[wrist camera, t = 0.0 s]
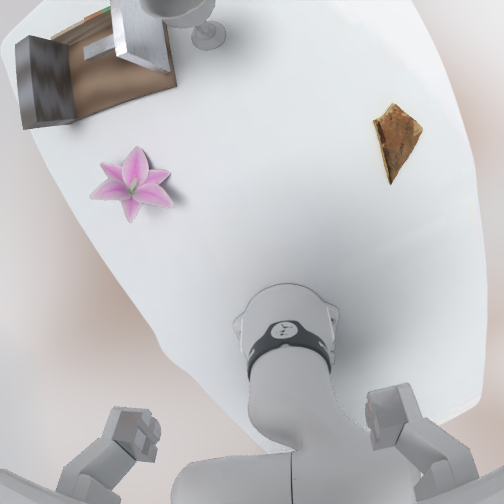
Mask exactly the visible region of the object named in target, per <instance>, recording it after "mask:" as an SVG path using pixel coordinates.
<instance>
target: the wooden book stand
mask: <svg viewBox="0 0 504 504" xmlns="http://www.w3.org/2000/svg"><path fill="white" fill-rule="evenodd" d="M162 24H163V30H164V36H165V42H166V48H167V54H168V60H169V66H170V73H167V74H164V75H162V74H160V73H158V72H155V71H153V70H150V69H148V68H145V67H143V66H141V65H138V64H136V63H133V62H130V61H128V60H125V59H123V58H120V57H117V56H116V52H115V53H112V54H110V55H107V56H105V57H103V58H100V59H98V60H96V61H93V62H90V61H86V60H85V59H84V50H83V47H85V46H87V45H89V44H92V43H94V42H96V41H98V40H100V39H103V38H105V37H107V36H110V35H112V34H113V25H112V16H111V6H109V7H107V8H105V9H102V10H100V11H98V12H96V13H94V14H92V15H90V16H88V17H86V18H84V20H82V21H80V22H78V23H76V24H74V25H72V26H70V27H69V28H67V29H65V30H63V31H61V32H60V33H58V34H56V35H54V36H53V37H51V40H47V39H43V38H39V37H35V36H30V35H29V36H27V37H26V38H24V39H23V40H21V41H20V42H18V43H17V44H16V45H15V58H16V74H17V86H18V96H19V105H20V112H21V119H22V125H23V130H26V129H33V128H40V127H49V126H58V125H68V124H71V123H73V122H75V121H78V120H80V119H83V118H85V117H87V116H90V115H92V114H95V113H97V112H100V111H103V110H105V109H108V108H111V107H113V106H116V105H119V104H122V103H125V102H128V101H130V100H133V99H137V98H140V97H143V96H146V95H149V94H152V93H156V92H159V91H162V90H166V89H169V88H173V87H177V85H176V80H175V74H174V68H173V63H172V57H171V51H170V45H169V39H168V33H167V27H166V23H164V22H163V21H162Z"/></svg>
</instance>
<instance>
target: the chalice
mask: <svg viewBox="0 0 504 504" xmlns="http://www.w3.org/2000/svg"><path fill="white" fill-rule="evenodd" d="M139 1H140V4H141V8H142V10H143V11H144V12H145V13H146V14H147V15H149V16H151V17H154V18H156V19H161V20H162V21H163V22H164V23H166V24H167V25H169V26H171V27H175V28H191V27H195V29H194V30H193V33H192V42H193V44H194V45H195V46H196V47H197V48H199V49H201V50H212V49H215V48H217V47H219V46H220V45H221V44H222V43H223V42H224V40H225V37H226V31H225V28H224V27H223V26H222V25H221V24H220V23H218V22H215V21H206V20H207V19H208V18H209V16H210V15H211V13H212V11H213V9H214V7H215V0H139Z"/></svg>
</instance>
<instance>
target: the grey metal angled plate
mask: <svg viewBox="0 0 504 504" xmlns="http://www.w3.org/2000/svg"><path fill="white" fill-rule="evenodd" d="M110 5H111V16H112V25H113V34H112V35H110V36H107V37H105V38H103V39H100V40H98V41H96V42H94V43H92V44H89V45H87V46H85V47H83V50H84V59H85V60H86V61H90V62H93V61H96V60H98V59H100V58H103V57H105V56H107V55H110V54H112V53H115V52H116V56H117V57H120V58H123V59H125V60H128V61H130V62H133V63H136V64H138V65H141V66H143V67H145V68H148V69H150V70H153V71H155V72H158V73H160V74H162V75H164V74H167V73H170V66H169V60H168V54H167V48H166V42H165V36H164V30H163V24H162V20H161V19H156V18H154V17H151V16H149V15H147V14H146V13H145V12H144V11H143V10H142V8H141V4H140V1H139V0H110Z"/></svg>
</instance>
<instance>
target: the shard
mask: <svg viewBox="0 0 504 504" xmlns="http://www.w3.org/2000/svg"><path fill="white" fill-rule="evenodd" d="M373 122H374V125H375V128H376V130H377V134H378V138H379V141H380V144H381V150H382V156H383V161H384V166H385V169H386V172H387V176H388V178H389V182H390V185H391V184H392V182H393V180H394V179H395V177H396V176H397V174H398V172H399V170H400V168H401V167H402V165H403V164H404V162H405V161H406V160H407V158H408V157H409V155H410V153H411V152H412V151H413V149H414V147H415V145H416V143H417V141H418V140H419V136H420V135H421V133H422V131H423V128H422V127H421V126H420V125H419V124H418V123H417V121H415V120H414V119H413V118H412V117H410V116H409V115H408V114H406V113H405V112H404V111H403V110H401V109H400V107H398V106H397V105H396V104H394V103H392V105H391V106H390V108H389V109H388V111H387V112H386V113H385V114H384V115H383V116H382V117H380V118H378V119H376V120H373Z"/></svg>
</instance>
